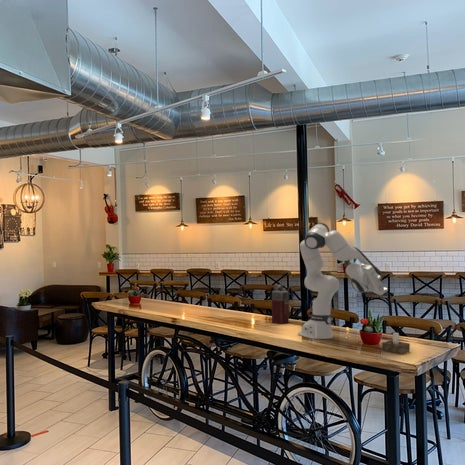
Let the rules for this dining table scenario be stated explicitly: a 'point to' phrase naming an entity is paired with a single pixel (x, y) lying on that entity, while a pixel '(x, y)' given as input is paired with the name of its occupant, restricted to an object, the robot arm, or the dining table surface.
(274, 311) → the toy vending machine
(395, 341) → the peg
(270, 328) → the dining table surface
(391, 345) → the socket block
